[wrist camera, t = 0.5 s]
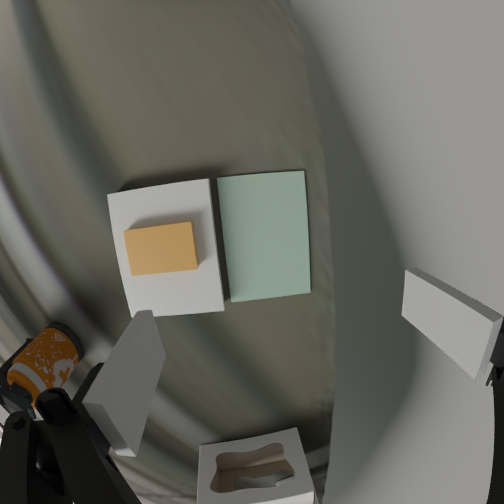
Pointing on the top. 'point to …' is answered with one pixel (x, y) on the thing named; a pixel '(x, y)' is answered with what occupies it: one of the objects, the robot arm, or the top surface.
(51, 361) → the canister
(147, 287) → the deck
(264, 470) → the gable box
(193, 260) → the light orange flat block
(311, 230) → the top surface
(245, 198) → the mat
